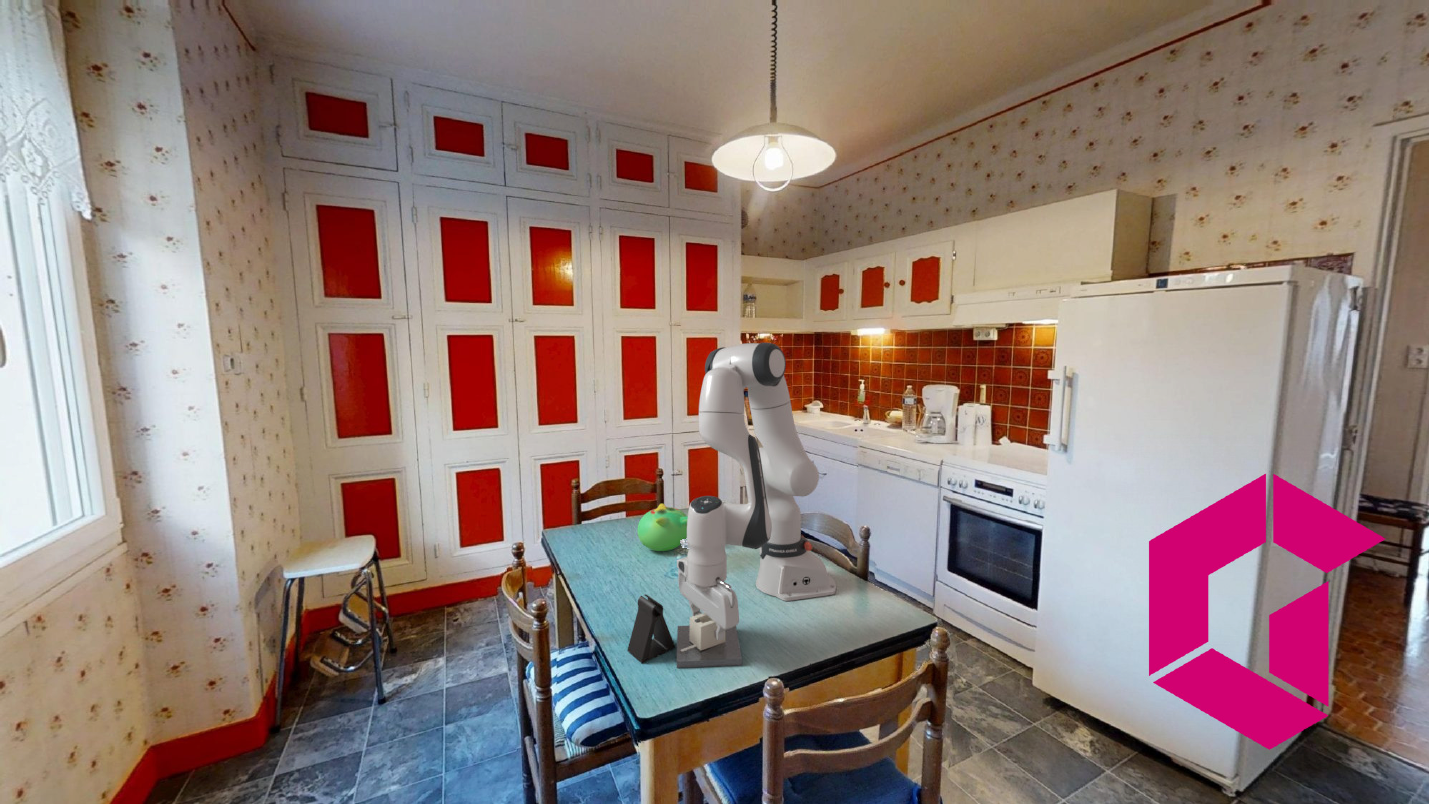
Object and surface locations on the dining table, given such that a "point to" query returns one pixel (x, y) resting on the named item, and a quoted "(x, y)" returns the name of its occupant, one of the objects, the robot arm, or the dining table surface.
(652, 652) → the black a-frame stand
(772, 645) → the dining table surface
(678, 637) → the grey square base
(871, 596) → the dining table surface
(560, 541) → the dining table surface
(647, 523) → the green bird toy
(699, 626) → the hollow rectangular block
